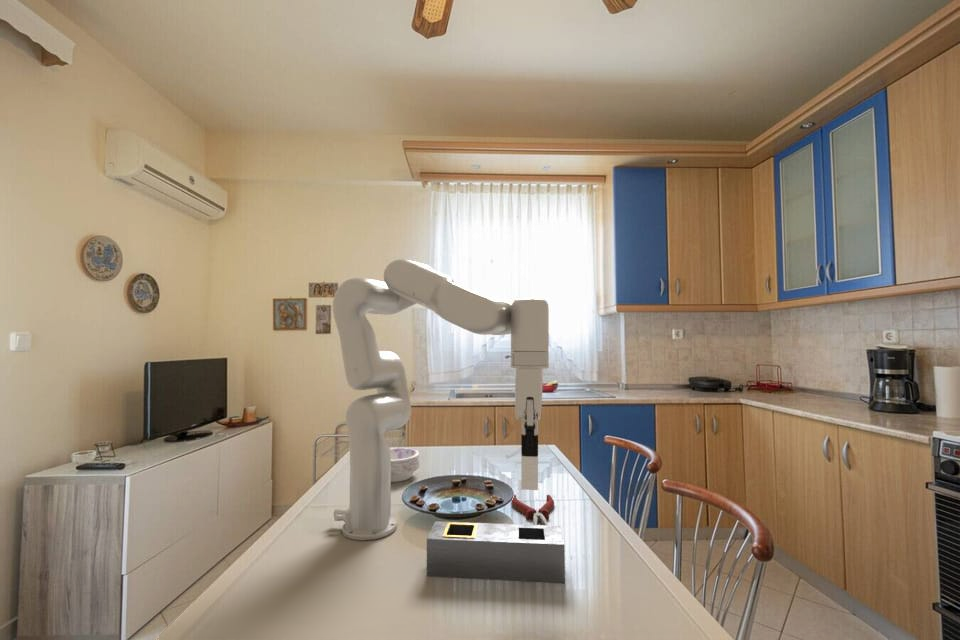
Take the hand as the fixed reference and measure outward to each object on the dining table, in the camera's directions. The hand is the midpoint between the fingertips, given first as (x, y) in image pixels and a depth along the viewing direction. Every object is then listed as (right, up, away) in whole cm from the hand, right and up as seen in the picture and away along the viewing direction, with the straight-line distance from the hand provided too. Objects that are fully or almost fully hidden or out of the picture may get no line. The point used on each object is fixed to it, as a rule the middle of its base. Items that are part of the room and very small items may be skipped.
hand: (529, 452), depth 85 cm
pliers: (+3, -25, +26) cm, 36 cm away
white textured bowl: (-37, -26, +56) cm, 72 cm away
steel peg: (0, -7, 0) cm, 7 cm away
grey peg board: (-7, -23, 0) cm, 24 cm away
